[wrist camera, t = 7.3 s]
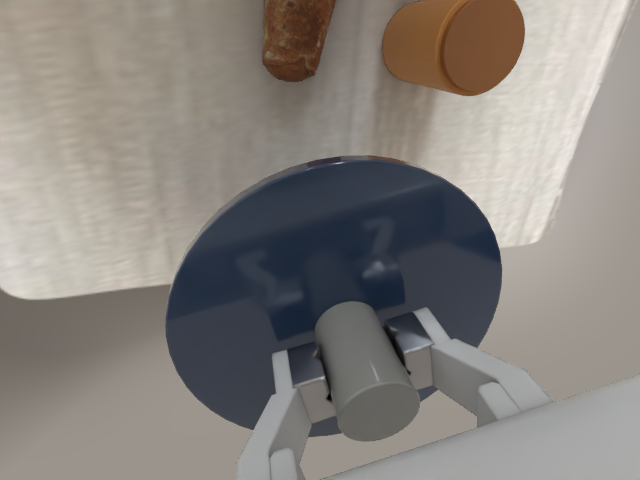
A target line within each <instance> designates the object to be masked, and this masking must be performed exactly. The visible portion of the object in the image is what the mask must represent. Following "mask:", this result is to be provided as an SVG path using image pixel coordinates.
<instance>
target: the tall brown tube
mask: <svg viewBox="0 0 640 480" xmlns="http://www.w3.org/2000/svg"><path fill="white" fill-rule="evenodd" d="M524 35H525V27H524V20H523V16H522V13H521V11H520V9H519V7H518V5H517V4H516V2H515V1H514V0H423V1H418V2H414V3H410V4H408V5H406V6H404V7H402V8H401V9H400V10H399V11H397V12H396V14H395V15H394V16H393V17H392V18H391V20H390V22H389V23H388V25H387V27H386V30H385V33H384V37H383V44H382V50H383V57H384V61H385V63H386V65H387V67H388V69H389V70H390V72H391V73H392V74H393V75H394V76H396V77H397V78H399V79H400V80H403V81H407V82H411V83H415V84H419V85H423V86H427V87H431V88H435V89H439V90H443V91H447V92H451V93H455V94H459V95H463V96H474V95H479V94H482V93H484V92H487V91H489V90H490V89H492V88H494V87H495V86H496V85H498V84H499V83H500V82H501V81H502V80H503V79H504V78H505V77H506V76H507V75H508V74H509V73H510V71H511V70H512V69H513V67H514V66H515V64H516V62H517V60H518V58H519V56H520V53H521V51H522V47H523V43H524Z"/></svg>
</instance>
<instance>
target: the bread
mask: <svg viewBox="0 0 640 480" xmlns="http://www.w3.org/2000/svg"><path fill="white" fill-rule="evenodd" d="M334 5H335V0H264V12H265V13H264V42H263V64H264V65H265V67H266V68H267V70H268V71H269V72H270V73H271V74H272V75H273V76H274V77H276V78H278V79H279V80H284V81H287V82H298V81H302V80H304V79H306V78H307V77H311V76H314V75H315V73H316V70H317V67H318V64H319V60H320V56H321V52H322V49H323V45H324V41H325V37H326V33H327V29H328V26H329V23H330V20H331V16H332V13H333V9H334Z"/></svg>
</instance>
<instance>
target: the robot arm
mask: <svg viewBox="0 0 640 480" xmlns="http://www.w3.org/2000/svg"><path fill="white" fill-rule="evenodd" d="M384 326H385V330H386V332H387V334H388V336H389V338H390V340H391V342H392V343H393V345H394V347H395V349H396V351H397V353H398V355H399V357H400V359H401V361H402V363H403V365H404V367H405V368H406V370H407V372H408V374H409V376H410V378H411V380H412V382H413V384H414V386H415V388H416V389H417V390H418V389H422V388H425V387H429V386H432V385H433V386H434V387H435V388H436V389H438V390H440V391H441V392H442V393H444V394H445V395H447V396H449V397H450V398H451V399H453V400H454V401H456V402H457V403H459V404H460V405H461V406H463V407H464V408H466V409H467V410H469V411H470V412H471V413H473V414H474V415H476V416H477V428H474V429H472V430H469V431H465V432H462V433H459V434H457V435H454V436H450V437H447V438H444V439H441V440H438V441H435V442H432V443H430V444H426V445H423V446H420V447H417V448H414V449H411V450H408V451H405V452H402V453H399V454H396V455H393V456H390V457H387V458H384V459H381V460H378V461H375V462H372V463H369V464H366V465H363V466H360V467H357V468H354V469H350V470H347V471H345V472H341V473H338V474H335V475H332V476H329V477H326V478H323V479H320V480H640V374H638V375H635V376H632V377H629V378H626V379H623V380H620V381H616V382H613V383H610V384H607V385H604V386H601V387H599V388H595V389H593V390H589V391H586V392H583V393H580V394H577V395H574V396H571V397H568V398H565V399H562V400H559V401H556V402H554V401H553V400H552V399H551V398H550V396H549V395H548V394H547V393H546V392H545V391H544V390H543V389H542V387H540V386H539V384H538V383H537V382H536V381H535V380H534V378H533V377H532V376H531V375H530V374H529V373H528V372H527V371H526V370H525V369H523V368H521V367H518V366H516V365H514V364H512V363H509V362H507V361H505V360H502V359H500V358H498V357H496V356H494V355H491V354H489V353H487V352H485V351H482V350H480V349H478V348H476V347H473V346H471V345H469V344H467V343H464V342H462V341H460V340H458V339H452V340H451V339H450V338H449V336H448V335H447V333H446V332H445V331H444V329H443V328H442V327H441V325H440V324H439V323H438V321H437V320H436V318H435V317H434V316H433V314H432V313H431V312H430V310H429V309H428V308H426V307H425V308H422V309H419V310H416V311H412V312H409V313H406V314H403V315H400V316H397V317H393V318H390V319H387V320H384ZM272 362H273V371H274V380H275V389H276V394H274V395H272V396H271V398H270V399H269V401H268V403H267V405H266V407H265V409H264V411H263V413H262V415H261V416H260V418H259V420H258V422H257V424H256V426H255V428H254V430H253V432H252V434H251V436H250V438H249V439H248V441H247V443H246V445H245V447H244V449H243V451H242V452H241V454H240V457H239V458H238V460H237V462H236V480H305V477H304V475H303V473H302V470H301V468H300V465H299V463H300V460H301V457H302V454H303V451H304V448H305V445H306V442H307V439H308V436H309V432H310V429H311V426H312V425H311V424H313V423H316V422H319V421H321V420H324V419H327V418H330V417H333V416H335V412H334V409H333V405H332V401H331V397H330V391H329V388H328V384H327V380H326V376H325V373H324V369H323V366H322V361H321V357H320V354H319V350H318V347H317V343H316V341H315V342H311V343H307V344H304V345H300V346H296V347H293V348H289V349H287V350H283V351H279V352H276V353H273V354H272Z"/></svg>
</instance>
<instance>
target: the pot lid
mask: <svg viewBox="0 0 640 480" xmlns="http://www.w3.org/2000/svg"><path fill="white" fill-rule="evenodd" d="M501 283H502V264H501V256H500V250H499V247H498V244H497V240H496V237H495V234H494V232H493V230H492V228H491V226H490V224H489V222H488V220H487V218H486V217H485V215H484V214H483V213H482V211H481V210H480V209H479V207H478V206H477V205H476V203H475V202H474V201H473V200H471V199H470V198H469V197H468V196H467V195H466V194H465V193H464V192H463V191H462V190H461V189H459V188H458V187H456V186H455V185H453V184H452V183H450V182H449V181H447V180H445V179H444V178H442V177H441V176H439V175H438V174H436V173H434V172H432V171H429V170H427V169H425V168H423V167H420V166H418V165H416V164H412V163H408V162H405V161H401V160H397V159H394V158H386V157H377V156H339V157H333V158H326V159H320V160H315V161H311V162H308V163H304V164H301V165H297V166H294V167H290V168H288V169H285V170H283V171H281V172H279V173H276V174H274V175H272V176H269V177H267V178H265V179H263V180H261V181H260V182H258V183H256V184H254V185H253V186H251V187H249V188H248V189H246V190H244V191H243V192H241V193H240V194H238V195H237V196H236V197H235V198H233V199H232V200H231V201H230V202H228V203H227V204H226V205H224V206H223V207H222V208H221V209H220V210H219V211H218V212H217V213H216V214H215V215H214V216H213V217H212V218H211V219H210V220H209V221H208V222H207V223H206V224H205V225H204V226H203V227H202V228H201V230H200V231H199V233H198V234H197V235H196V237H195V238H194V239H193V241H192V242H191V244H190V245H189V246H188V248H187V250H186V252H185V254H184V256H183V258H182V260H181V262H180V263H179V265H178V267H177V270H176V273H175V276H174V279H173V283H172V286H171V289H170V293H169V296H168V303H167V309H166V316H165V317H166V318H165V319H166V338H167V343H168V348H169V353H170V356H171V358H172V361H173V363H174V366H175V368H176V371H177V372H178V374H179V376H180V377H181V379H182V380H183V382H184V384H185V385H186V387H187V388H188V389H189V390H190V391H191V392H192V393H193V395H194V396H195V397H196V398H197V399H198V400H199V401H200V402H201V403H203V404H204V405H205V406H207V407H208V408H209V409H210V410H211V411H213V412H215V413H216V414H218V415H219V416H221V417H223V418H224V419H226V420H228V421H231V422H233V423H235V424H237V425H239V426H242V427H245V428H248V429H251V430H254V428H255V426H256V424H257V422H258V420H259V418H260V416H261V415H262V413H263V411H264V409H265V407H266V405H267V403H268V401H269V399H270V398H271V396H272V395H274V394H276V389H275V380H274V371H273V362H272V354H273V353H276V352H279V351H283V350H287V349H289V348H293V347H296V346H300V345H304V344H307V343H311V342H315V341H316V343H317V347H318V350H319V354H320V357H321V361H322V366H323V369H324V373H325V376H326V380H327V384H328V388H329V391H330V397H331V401H332V405H333V409H334V412H335V416H333V417H330V418H327V419H324V420H321V421H319V422H316V423H313V424H311V425H312V426H311V429H310V432H309V436H308V437H316V436H328V435H334V434H340V433H343V434H344V435H346V436H347V437H348V438H350V439H353V440H357V441H376V440H380V439H384V438H387V437H390V436H392V435H394V434H396V433H398V432H399V431H401V430H403V429H404V428H405V427H406V426H408V425H409V424H410V423H411V422H412V421H413V419H414V418H415V417H416V415H417V413H418V411H419V408H420V402H421V401H423V400H424V399H426V398H427V397H429V396H430V395H431V394H433V393H434V392H435V391H437V390H438V389H436V388H435V387H434V386H433V385H432V386H429V387H425V388H422V389H418V390H417V389H416V388H415V386H414V384H413V382H412V380H411V378H410V376H409V374H408V372H407V370H406V368H405V367H404V365H403V363H402V361H401V359H400V357H399V355H398V353H397V351H396V349H395V347H394V345H393V343H392V342H391V340H390V338H389V336H388V334H387V332H386V330H385V326H384V320H387V319H390V318H393V317H397V316H400V315H403V314H406V313H409V312H412V311H416V310H419V309H422V308H425V307H426V308H428V309H429V310H430V312H431V313H432V314H433V316H434V317H435V318H436V320H437V321H438V323H439V324H440V325H441V327H442V328H443V329H444V331H445V332H446V333H447V335H448V336H449V338H450V339H451V340H452V339H458V340H460V341H462V342H464V343H467V344H469V345H471V346H473V347H476V348H478V346H479V344H480V343H481V341H482V340H483V338H484V336H485V335H486V333H487V331H488V328H489V326H490V324H491V322H492V320H493V317H494V314H495V311H496V308H497V305H498V301H499V296H500V291H501Z"/></svg>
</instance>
